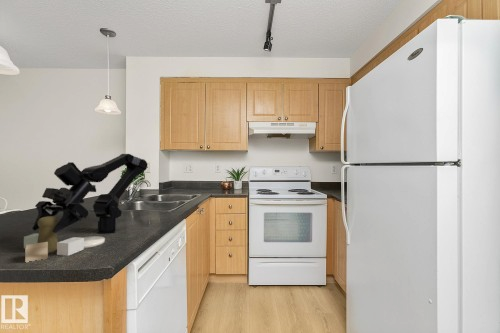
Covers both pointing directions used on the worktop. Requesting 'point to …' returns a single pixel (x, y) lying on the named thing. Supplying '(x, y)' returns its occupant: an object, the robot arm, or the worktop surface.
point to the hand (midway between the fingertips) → (43, 230)
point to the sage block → (31, 239)
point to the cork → (48, 232)
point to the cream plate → (93, 241)
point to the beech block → (36, 251)
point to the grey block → (70, 246)
